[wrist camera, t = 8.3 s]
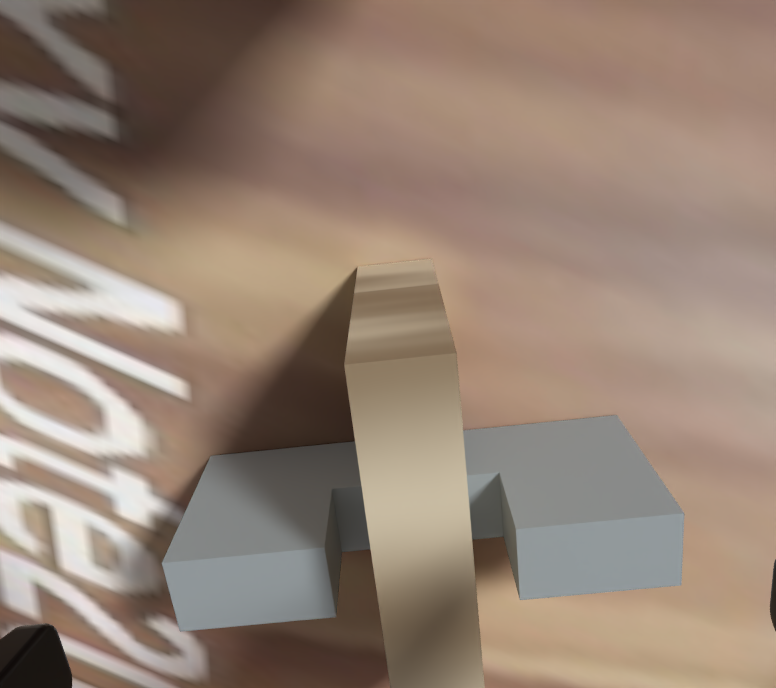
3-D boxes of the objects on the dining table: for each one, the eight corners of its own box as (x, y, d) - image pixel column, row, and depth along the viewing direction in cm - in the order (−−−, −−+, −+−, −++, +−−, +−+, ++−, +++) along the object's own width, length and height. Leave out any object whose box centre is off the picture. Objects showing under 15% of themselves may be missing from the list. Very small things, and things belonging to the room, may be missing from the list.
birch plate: (464, 615, 23) (496, 826, 17) (403, 621, 23) (411, 833, 17) (431, 258, 19) (456, 353, 13) (357, 266, 19) (344, 364, 13)
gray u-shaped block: (616, 474, 22) (681, 585, 17) (223, 512, 22) (179, 631, 17) (616, 415, 21) (684, 513, 16) (210, 455, 21) (161, 562, 17)
